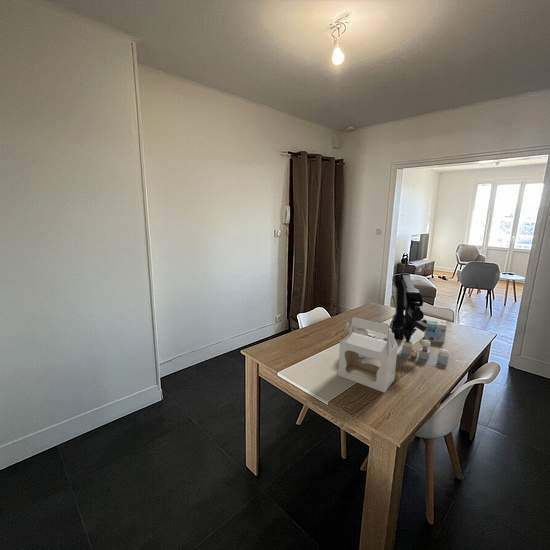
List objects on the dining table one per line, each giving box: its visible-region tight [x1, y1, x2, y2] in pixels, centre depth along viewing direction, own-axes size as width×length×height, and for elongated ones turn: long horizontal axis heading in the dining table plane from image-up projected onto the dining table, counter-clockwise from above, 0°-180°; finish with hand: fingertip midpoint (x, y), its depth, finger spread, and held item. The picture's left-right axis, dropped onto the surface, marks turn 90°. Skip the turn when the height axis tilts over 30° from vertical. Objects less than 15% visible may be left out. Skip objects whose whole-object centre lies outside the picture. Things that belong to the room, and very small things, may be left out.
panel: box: [397, 345, 453, 371], centre depth 153 cm, size 24×13×5 cm, turn 53°
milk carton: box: [353, 326, 369, 359], centre depth 157 cm, size 7×7×19 cm
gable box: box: [337, 316, 399, 394], centre depth 134 cm, size 22×13×28 cm, turn 51°
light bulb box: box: [423, 319, 447, 343], centre depth 178 cm, size 11×7×11 cm, turn 68°
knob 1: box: [402, 340, 413, 348], centre depth 158 cm, size 4×4×6 cm
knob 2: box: [438, 348, 450, 358], centre depth 148 cm, size 4×4×6 cm
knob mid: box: [420, 339, 431, 352], centre depth 153 cm, size 4×4×6 cm
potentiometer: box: [410, 349, 418, 360], centre depth 153 cm, size 3×3×4 cm
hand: (407, 342), depth 158 cm, fingers closed, pressing on knob 1
